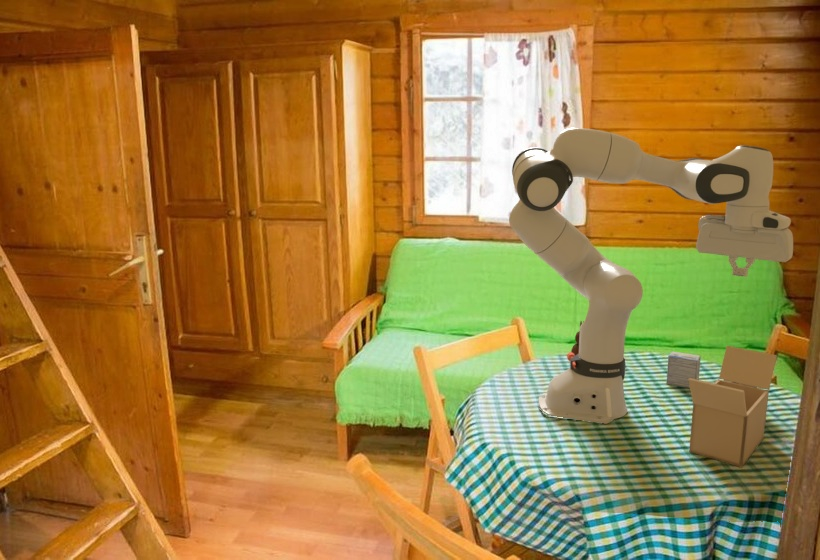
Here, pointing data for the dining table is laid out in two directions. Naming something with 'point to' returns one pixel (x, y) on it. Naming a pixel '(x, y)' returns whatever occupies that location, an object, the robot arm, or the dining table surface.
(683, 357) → the medicine box
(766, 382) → the back flap
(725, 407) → the front flap
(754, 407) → the carton
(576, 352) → the wooden figurine
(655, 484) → the dining table surface
